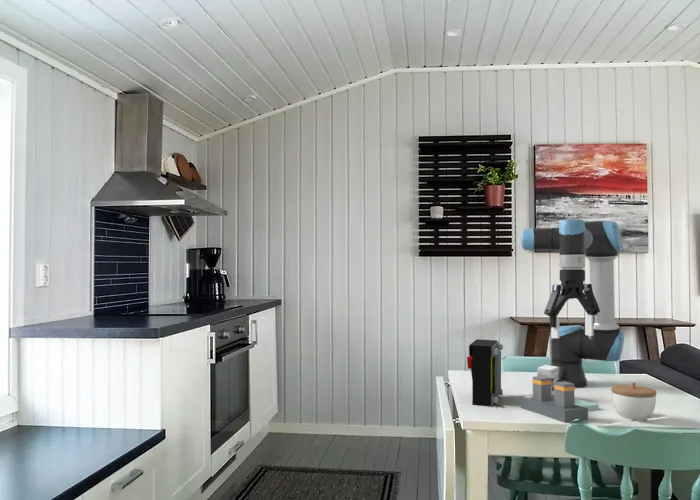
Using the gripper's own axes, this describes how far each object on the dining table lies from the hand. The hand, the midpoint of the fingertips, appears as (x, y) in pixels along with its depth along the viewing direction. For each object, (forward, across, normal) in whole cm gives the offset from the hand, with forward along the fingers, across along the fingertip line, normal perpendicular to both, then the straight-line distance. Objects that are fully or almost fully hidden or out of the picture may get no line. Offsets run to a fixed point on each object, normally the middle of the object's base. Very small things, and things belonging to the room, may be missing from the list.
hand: (572, 336), depth 187 cm
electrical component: (+25, -12, +28) cm, 40 cm away
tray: (+25, +7, +8) cm, 27 cm away
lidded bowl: (+25, +16, -9) cm, 31 cm away
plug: (+24, -5, -2) cm, 24 cm away
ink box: (+26, +8, +20) cm, 34 cm away
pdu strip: (+25, -5, +3) cm, 26 cm away
